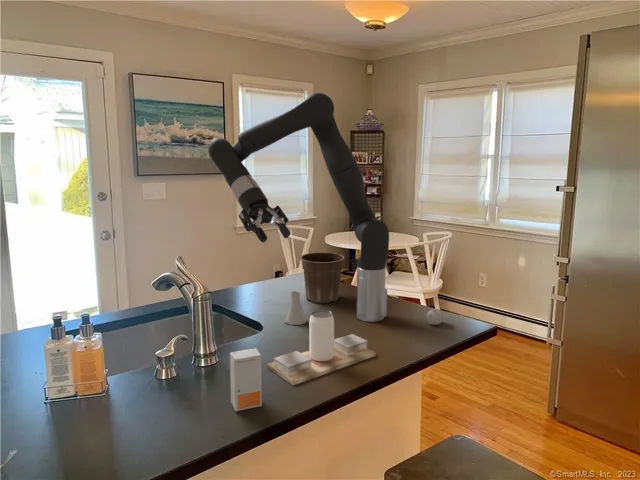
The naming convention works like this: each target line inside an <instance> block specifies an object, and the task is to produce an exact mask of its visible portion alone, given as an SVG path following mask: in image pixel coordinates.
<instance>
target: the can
mask: <svg viewBox="0 0 640 480" xmlns="http://www.w3.org/2000/svg"><path fill="white" fill-rule="evenodd" d="M308 323H309V327H308V329H309V331H308V332H309V335H308V336H309V339H308V340H309V348H308V351H310V358H311V359H312V360H314V361H318V362H326V361H329V360H331V359H332V358H333V357H334V339H335V318H334V316H333V312H332V311H330V310H325V309H320V310H319V309H318V310H313V311H312V312H311V313H310V316H309V320H308Z"/></svg>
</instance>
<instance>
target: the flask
mask: <svg viewBox="0 0 640 480" xmlns="http://www.w3.org/2000/svg"><path fill="white" fill-rule="evenodd" d="M289 295H290V298H291V299H290V303H289V308H288V310H287V314H286V317H285V320H284V322H283V323H284V324H286V325H287V324H288V325H290V326H300V325H303V324H306V323H307V317H306V314H305V312H304V309H303V306H302V304H301V299H300V295H301V291H298V290H292V291H290V293H289Z"/></svg>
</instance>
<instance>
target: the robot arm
mask: <svg viewBox="0 0 640 480" xmlns="http://www.w3.org/2000/svg"><path fill="white" fill-rule="evenodd" d="M334 113H335V104H334V102H333V100H332V98H331V97H329V95H327V94H325V93H322V92H315V93H312V94H310V95H308V96H307V97H305V99H304V100H303V101H302V102H301V103H299V104H298V105H296V106H295V107H294V108H291V109H289V110H288V111H286V112H284V113H282V114H280V115H277V116H276V117H273V118H270V119H267V120H264V121H262V122H259V123H258V124H255V125H254V126H251V127H249V128H247V129H245V130H243V131H241V132H240V133H238V135H237V141H236V142H235V143H234V144H232V143H230V141H228V140H227V139H225V138H222V137H216V138H214V139H212V140H211V141H210V143H209V145H208V147H207V148H208V154H209V156H210V158H211V160H212V161H213V163H214V164H215V165H216V167H217V168H218V170H219V171H220V172H221V174H222V175H223V177H224V179H225V182H226V183H227V184H228V186H229V187H230V190H231V192H232V193H233V195H234V198H235V200H237V202H238V205H239V206H240V207H241V209H242V210H241V211H240V213H239V214H238V218H239V219H240V221H241V223H242V225H243V228H244V229H245V230H246V232H253V233H255V236H256V237H257V238H258V240H259V241H260V242H261V243H266V242H267V240H268V236H267V234H266V233H265V231H264V229H263V228H262V227H261V225H263V224H269V225H270V226H275V227H277V228H278V231H280V233H281V235H282V236H283V238H284V239H288V238H289V236H291V231H290V229H288V227H287V223H288V222H289V218H288V217H287V215H286V214H285V213H284V211H283V209H282V208H281V207H280V206H279V205H275V207H271V206H270V205H269V201H268V198H267V196H266V195H265V193H264V192H263V190H262V188H261V187H260V185H259V184H258V182H257V181H256V179H254V177H253V176H252V174H251V173H250V172H249V170H248V168H247V167H246V166H245V165H244V164H243V161H245V160H246V159H247V158H249V157H250V156H251V155H252V154H254V153H256V152H259V151H260V150H263V149H265V148H267V147H268V146H270V145H271V146H272V144H275V143H276V142H278V141H280V140H282V139H284V138H286V137H288V136H290V135H292V134H294V133H296V132H299V131H302V130H304V129H307V128H311V130H312V132H313V134H314V136H315V138H316V140H317V143H318V145H319V147H320V150H321V154H322V156H323V160H324V163H325V165H326V169H327V171H328V174H329V177H330V178H331V180H332V183H333V185H334V187H335V188H336V191H337V193H338V195H339V197H340V199H341V201H342V203H343V205H344V206H345V208H346V211H347V213H348V216H349V219H350V222H351V225H352V228H353V231H354V235H355V237H356V239H357V240H358V242H359V243H360V255H359V257H358V258H357V259H356V262H357V267H356V277H357V278H356V318H357V319H358V320H360V321H362V322H369V323H370V322H372V323H375V322H380V321H382V320H384V319H385V318H386V317H388V316H387V313H388V312H387V310H388V288H386V267H387V266H386V264H387V261H388V257H389V246H390V232H389V231H390V230H389V228H388V227H389V226H387V224H386V223H385V222H384V221H382V220H381V219H378V218H377V217H376V216H375V214H374V212H373V211H372V208H371V206H370V204H369V202H368V199H367V195H366V188H365V182H364V177H363V174H362V171H361V169H360V166H359V164H358V162H357V160H356V158H355V155H354V154H353V152H352V151H351V149H350V147H349V145H348V144H347V142H346V141H345V139H344V138H343V136H342V135H341V131H340V130H339V127H338V124H337V122H336V119H335V116H334ZM273 218H274V219H273ZM278 222H279V223H278Z"/></svg>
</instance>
